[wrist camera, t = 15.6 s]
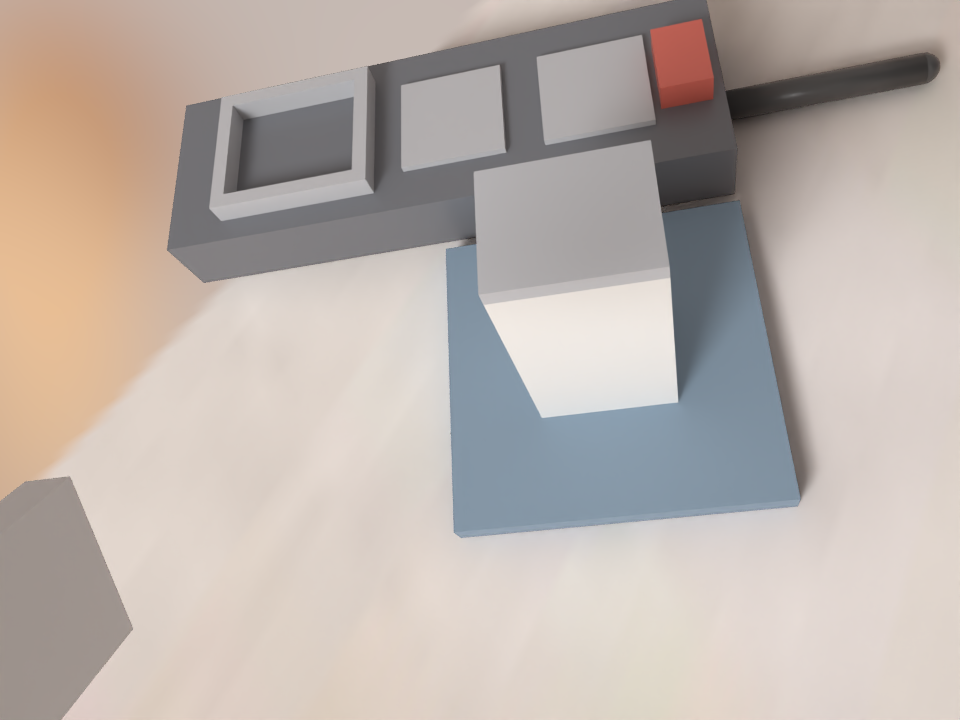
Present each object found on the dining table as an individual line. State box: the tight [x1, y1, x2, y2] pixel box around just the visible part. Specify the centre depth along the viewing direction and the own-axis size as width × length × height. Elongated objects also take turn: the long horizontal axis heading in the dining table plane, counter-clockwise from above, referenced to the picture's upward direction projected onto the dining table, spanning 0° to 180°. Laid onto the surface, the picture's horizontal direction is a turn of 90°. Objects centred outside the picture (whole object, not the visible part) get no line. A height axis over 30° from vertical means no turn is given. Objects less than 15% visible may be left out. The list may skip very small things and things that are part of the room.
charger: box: [474, 140, 678, 418], centre depth 27 cm, size 5×4×10 cm
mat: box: [446, 200, 801, 538], centre depth 32 cm, size 12×12×1 cm
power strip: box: [167, 0, 940, 283], centre depth 35 cm, size 33×8×4 cm, turn 93°
